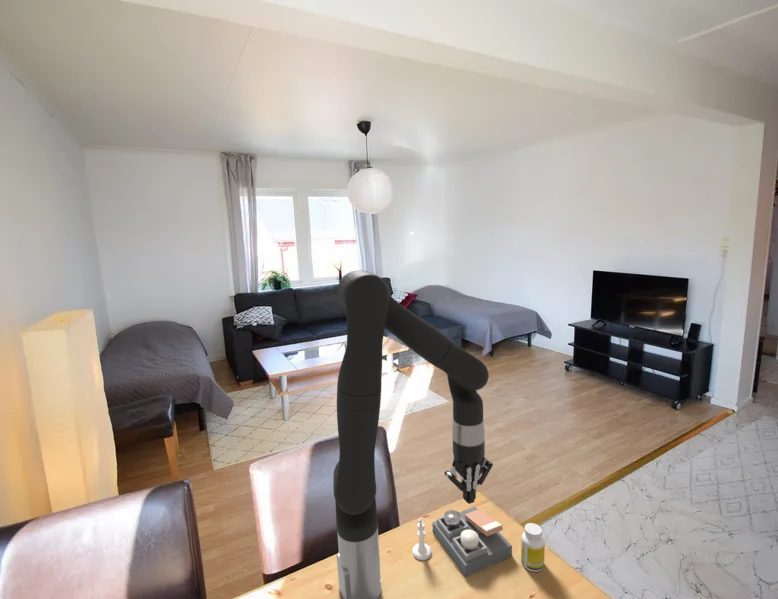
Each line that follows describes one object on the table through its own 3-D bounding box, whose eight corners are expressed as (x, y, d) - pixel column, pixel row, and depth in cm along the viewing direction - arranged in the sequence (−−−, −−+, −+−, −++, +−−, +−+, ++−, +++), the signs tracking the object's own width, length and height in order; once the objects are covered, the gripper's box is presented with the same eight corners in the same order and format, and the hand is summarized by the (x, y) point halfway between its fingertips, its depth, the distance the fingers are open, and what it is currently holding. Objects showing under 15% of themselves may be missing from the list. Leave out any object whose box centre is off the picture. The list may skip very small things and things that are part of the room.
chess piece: (424, 563, 101) (423, 528, 99) (408, 554, 104) (407, 520, 102) (434, 550, 105) (434, 516, 103) (419, 542, 108) (417, 509, 106)
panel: (465, 576, 97) (465, 560, 96) (432, 531, 112) (432, 517, 111) (511, 556, 102) (512, 540, 102) (474, 515, 117) (474, 501, 116)
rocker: (486, 536, 102) (486, 531, 102) (465, 518, 111) (464, 513, 111) (502, 529, 104) (502, 524, 104) (480, 513, 113) (479, 508, 113)
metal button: (449, 530, 106) (449, 523, 105) (441, 519, 110) (441, 513, 109) (464, 524, 107) (463, 518, 107) (455, 514, 111) (455, 508, 111)
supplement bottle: (548, 566, 99) (550, 531, 97) (533, 576, 96) (534, 540, 94) (531, 551, 103) (532, 517, 102) (516, 560, 101) (516, 526, 99)
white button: (467, 552, 99) (467, 545, 98) (457, 539, 103) (457, 532, 102) (482, 546, 100) (482, 539, 100) (471, 534, 104) (471, 527, 104)
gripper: (453, 451, 90) (454, 519, 93) (501, 436, 95) (501, 502, 98) (436, 436, 97) (438, 500, 100) (481, 423, 102) (482, 484, 105)
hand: (469, 501), depth 99 cm, fingers closed
